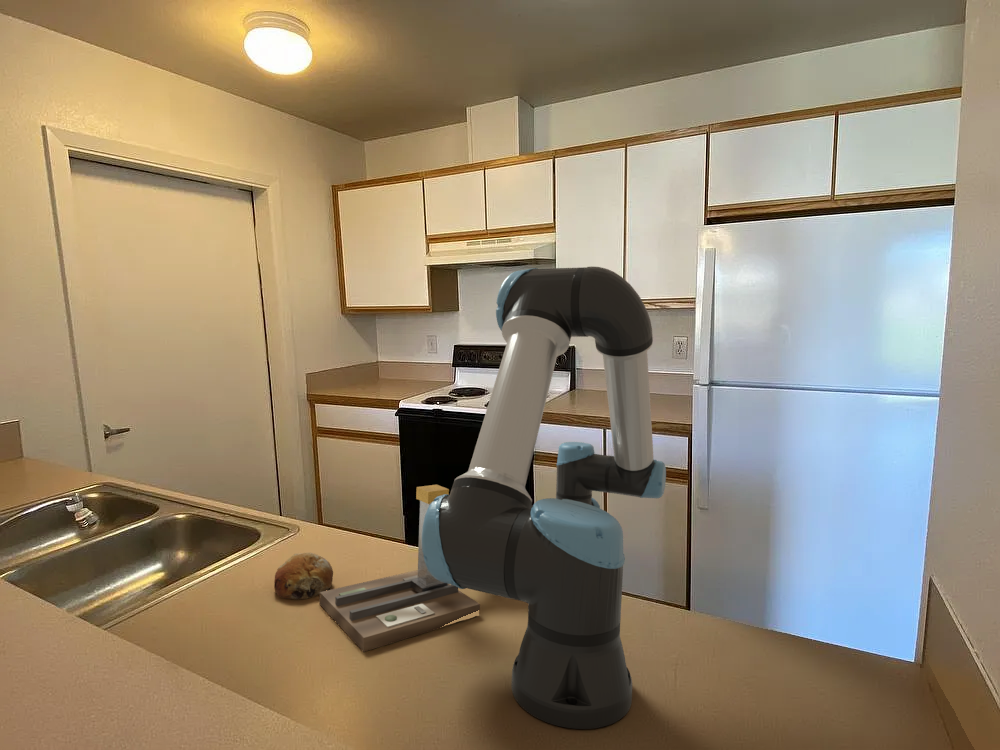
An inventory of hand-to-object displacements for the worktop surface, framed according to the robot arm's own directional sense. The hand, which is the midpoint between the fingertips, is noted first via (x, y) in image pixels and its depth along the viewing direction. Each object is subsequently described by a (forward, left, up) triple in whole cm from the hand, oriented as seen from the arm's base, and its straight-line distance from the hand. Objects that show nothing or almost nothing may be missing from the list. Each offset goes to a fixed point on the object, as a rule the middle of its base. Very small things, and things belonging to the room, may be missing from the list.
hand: (436, 543), depth 95 cm
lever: (-1, +2, -7) cm, 7 cm away
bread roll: (+16, +18, -10) cm, 26 cm away
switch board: (-1, +8, -9) cm, 12 cm away
